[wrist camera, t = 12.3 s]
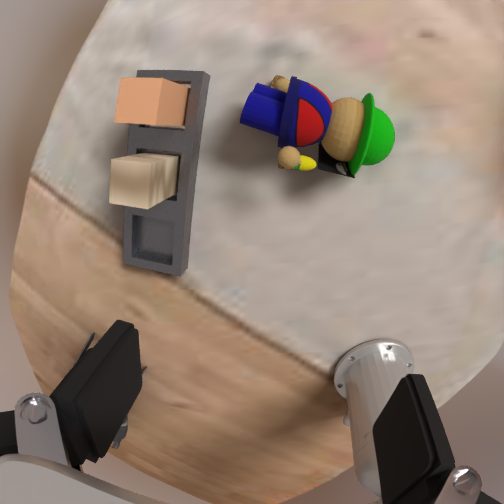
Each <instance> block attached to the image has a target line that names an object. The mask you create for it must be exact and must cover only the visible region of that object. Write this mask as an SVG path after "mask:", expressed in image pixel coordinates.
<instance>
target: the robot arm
mask: <svg viewBox="0 0 504 504" xmlns="http://www.w3.org/2000/svg"><path fill="white" fill-rule="evenodd" d="M413 371H414V359H413V356H412V354H411V352H410V350H409V349H408V348H407V347H406V346H405V345H403V344H402V343H400V342H397V341H395V340H389V339H379V340H372V341H369V342H366V343H363V344H361V345H358V346H356V347H355V348H353V349H352V350H350V351H349V352H348V353H346V354H345V355H344V356H343V357H342V358H341V360H340V361H339V362H338V364H337V366H336V368H335V371H334V384H335V388H336V390H337V392H338V393H339V394H340V395H341V396H342V397H343V398H345V399H347V405H348V412H347V414H346V416H345V418H344V419H343V423H344V424H345V425H346V426H350V430H351V439H352V449H353V460H354V469H355V474H356V477H357V479H358V480H359V482H360V483H361V484H362V485H363V487H365V488H366V489H367V490H369V491H370V492H371V493H373V494H375V495H376V496H378V497H379V498H380V499H379V500H378V501H376V502H373V503H370V504H501V503H500V502H498V501H496V500H495V499H493V498H492V497H490V496H488V495H486V494H485V493H484V492H482V491H481V487H482V482H481V478H480V476H479V474H478V473H477V472H476V471H475V470H474V469H473V468H471V467H468V466H459V467H455V464H454V463H455V460H454V457H453V454H452V451H451V448H450V445H449V442H448V439H447V436H446V433H445V430H444V427H443V424H442V422H441V419H440V416H439V413H438V411H437V408H436V405H435V403H434V400H433V398H432V395H431V393H430V390H429V387H428V385H427V383H426V380H425V378H424V376H423V375H421V374H413ZM141 388H142V374H141V362H140V349H139V334H138V330H137V329H135V328H134V325H133V324H132V323H129V322H125V321H122V320H117V321H115V323H114V324H113V325H112V326H111V327H110V328H109V330H108V331H107V332H106V333H105V334H104V336H103V337H102V338H101V339H100V340H99V341H98V343H97V344H96V345H95V346H94V347H93V348H90V349H88V350H87V351H86V352H85V353H84V355H83V356H82V357H81V358H80V359H79V361H78V362H77V363H76V364H75V365H74V367H73V368H72V369H71V370H70V371H69V373H68V374H67V375H66V376H65V378H64V379H63V380H62V381H61V383H60V384H59V385H58V386H57V387H56V389H55V390H54V391H53V392H52V394H51V395H50V396H49V397H48V396H46V395H44V394H41V393H31V394H27V395H25V396H23V397H22V398H21V399H20V400H19V401H18V402H17V404H16V406H15V410H13V411H6V412H0V504H168V503H165V502H161V501H158V500H155V499H152V498H149V497H146V496H143V495H140V494H137V493H134V492H131V491H129V490H126V489H123V488H120V487H118V486H115V485H112V484H110V483H107V482H105V481H103V480H100V479H98V478H95V477H93V476H90V475H88V474H86V473H84V472H83V469H82V466H81V464H83V463H84V461H85V460H86V459H88V460H90V461H92V462H94V463H96V462H97V460H98V458H99V457H100V458H103V457H104V456H105V454H106V453H107V451H108V449H109V447H110V445H111V443H112V441H113V440H114V438H115V436H116V434H117V432H118V430H119V429H120V427H121V425H122V423H123V421H124V419H125V418H126V416H127V414H128V412H129V410H130V409H131V407H132V405H133V403H134V401H135V400H136V398H137V396H138V394H139V392H140V390H141Z"/></svg>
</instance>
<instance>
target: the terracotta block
mask: <svg viewBox="0 0 504 504" xmlns="http://www.w3.org/2000/svg"><path fill="white" fill-rule="evenodd" d="M189 94H190V88H188V87H185V86H183V85H180V84H178V83H175V82H172V81H170V80H167V79H164V78H121V80H120V86H119V93H118V99H117V106H116V114H115V123H133V124H148V125H174V126H185V119H186V113H187V106H188V100H189Z"/></svg>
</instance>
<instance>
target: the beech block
mask: <svg viewBox="0 0 504 504" xmlns="http://www.w3.org/2000/svg"><path fill="white" fill-rule="evenodd" d="M179 165H180V156H176V155H167V154H158V153H148V152H145V153H140V154H135V155H129V156H124V157H119V158H114V159H111V171H110V194H109V203H112V204H118V205H124V206H131V207H137V208H143V209H149V208H151V207H153V206H155V205H156V204H158V203H160V202H162V201H163V200H165V199H167V198H169V197H171V196H172V195H174V194H176V193H177V185H178V175H179Z"/></svg>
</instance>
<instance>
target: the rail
mask: <svg viewBox="0 0 504 504" xmlns="http://www.w3.org/2000/svg"><path fill="white" fill-rule="evenodd" d="M136 78H164V79H167V80H170V81H172V82H175V83H178V84H180V85H183V86H185V87H188V88H190V94H189V100H188V106H187V113H186V119H185V126H174V125H148V124H133V123H130V129H129V139H128V150H127V156H129V155H135V154H140V153H145V152H148V153H158V154H167V155H176V156H180V165H179V175H178V185H177V193H176V194H174V195H172V196H171V197H169V198H167V199H165V200H163V201H162V202H160V203H158V204H156V205H155V206H153V207H151V208H149V209H143V208H137V207H131V206H124V264H127V265H131V266H136V267H140V268H145V269H149V270H153V271H158V272H162V273H167V274H171V275H176V276H182V274H183V273H184V272H185V270H186V269H187V268H188V256H189V243H190V232H191V221H192V211H193V201H194V191H195V182H196V173H197V165H198V157H199V149H200V141H201V134H202V126H203V119H204V112H205V106H206V99H207V93H208V86H209V80H210V75H209V74H207V73H206V72H204V71H183V70H137V76H136Z"/></svg>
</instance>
